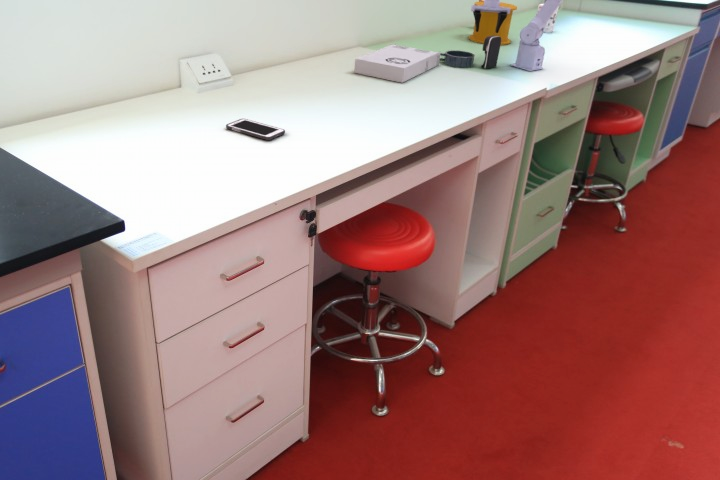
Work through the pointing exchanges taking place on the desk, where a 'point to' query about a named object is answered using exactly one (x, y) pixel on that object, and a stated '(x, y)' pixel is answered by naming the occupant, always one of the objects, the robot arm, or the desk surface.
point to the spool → (492, 25)
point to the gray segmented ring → (458, 58)
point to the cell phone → (255, 129)
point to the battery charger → (491, 51)
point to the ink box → (551, 21)
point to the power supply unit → (396, 63)
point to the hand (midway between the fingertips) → (486, 31)
